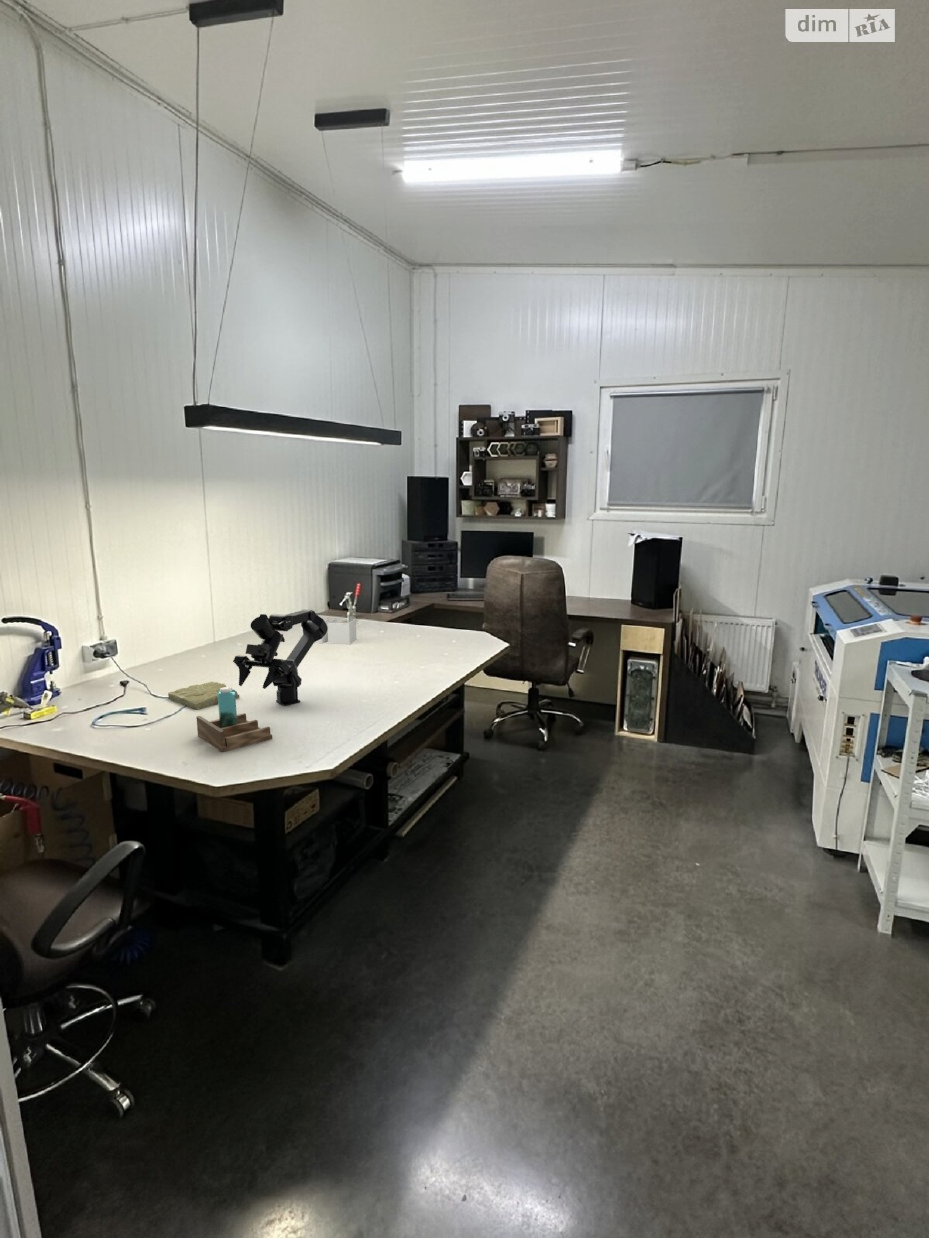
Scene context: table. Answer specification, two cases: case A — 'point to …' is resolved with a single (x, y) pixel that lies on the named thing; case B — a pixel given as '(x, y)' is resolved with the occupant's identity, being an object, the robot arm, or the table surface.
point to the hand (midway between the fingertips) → (251, 686)
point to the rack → (232, 733)
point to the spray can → (227, 707)
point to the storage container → (338, 632)
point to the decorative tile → (198, 695)
